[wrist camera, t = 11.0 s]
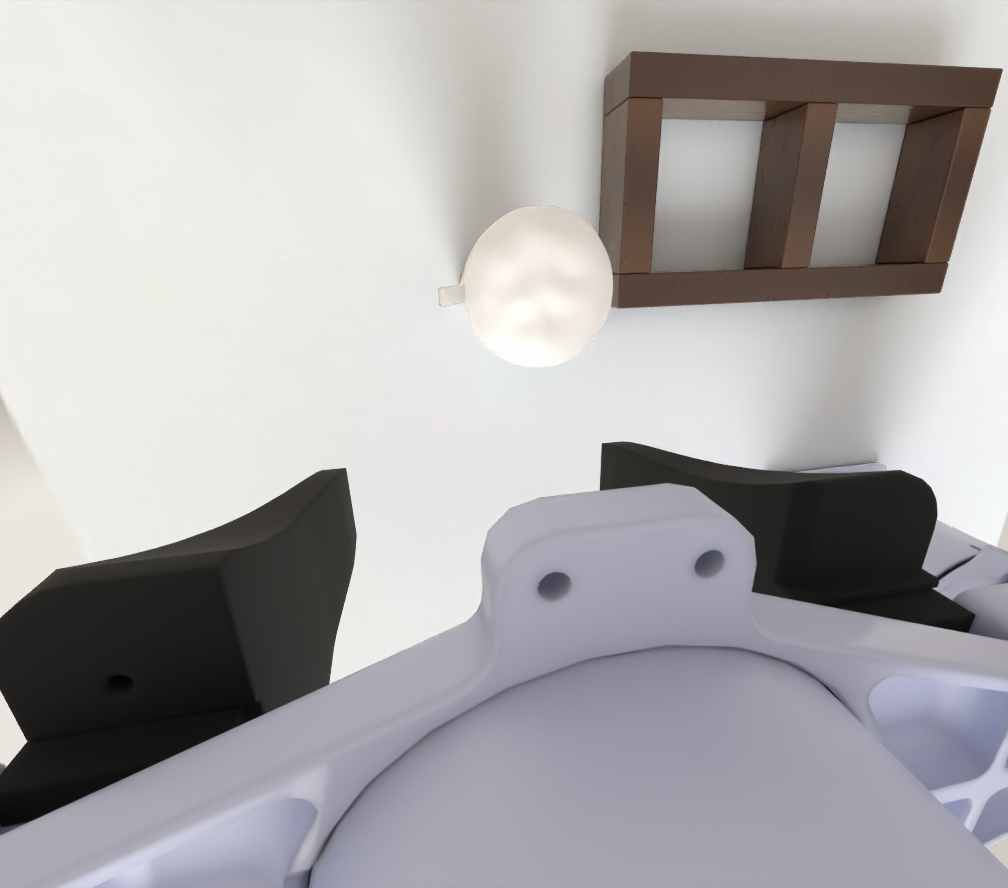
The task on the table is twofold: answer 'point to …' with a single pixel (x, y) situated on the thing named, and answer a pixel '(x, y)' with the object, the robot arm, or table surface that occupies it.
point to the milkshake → (536, 286)
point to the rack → (792, 170)
